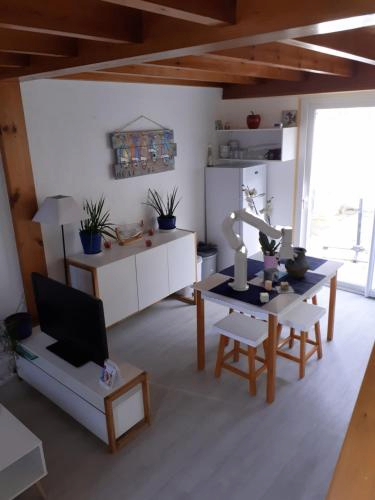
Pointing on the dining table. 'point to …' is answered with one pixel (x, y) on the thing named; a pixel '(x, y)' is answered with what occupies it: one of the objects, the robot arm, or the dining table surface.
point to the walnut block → (284, 286)
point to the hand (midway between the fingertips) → (285, 265)
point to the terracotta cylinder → (268, 285)
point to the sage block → (264, 297)
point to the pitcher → (298, 263)
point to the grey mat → (284, 291)
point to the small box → (271, 275)
